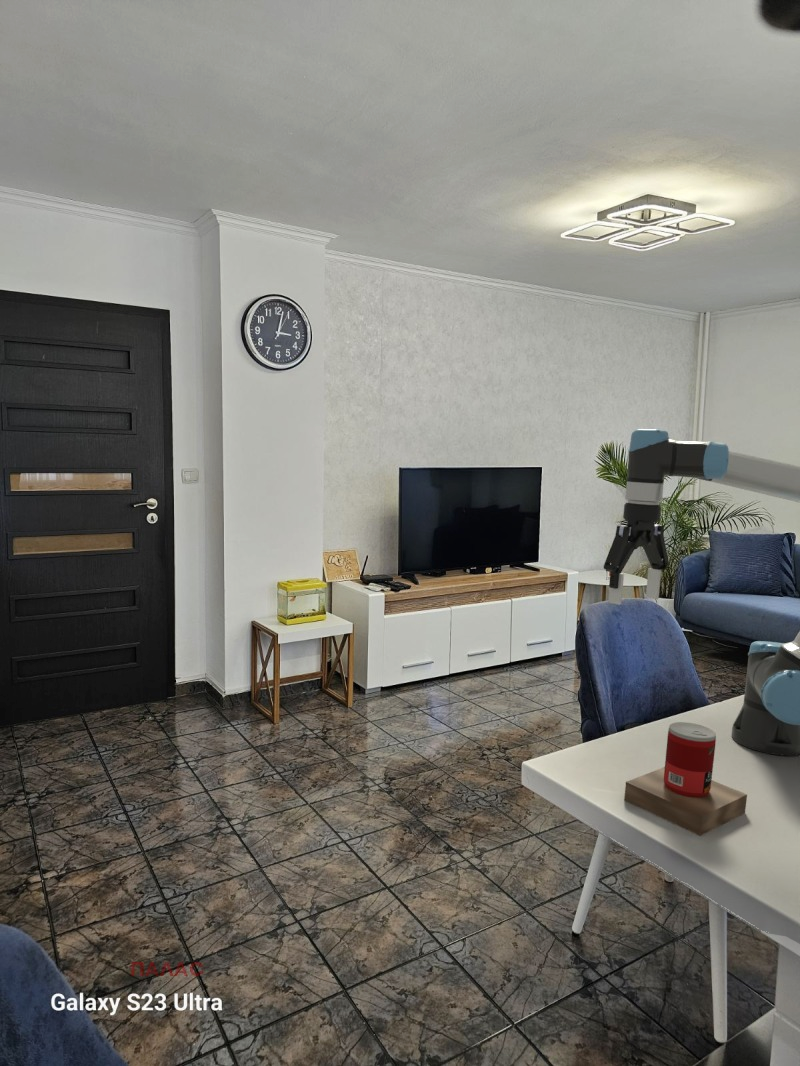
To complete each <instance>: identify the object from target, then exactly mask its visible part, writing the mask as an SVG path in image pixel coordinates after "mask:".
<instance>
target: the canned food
mask: <svg viewBox="0 0 800 1066" xmlns="http://www.w3.org/2000/svg"><path fill="white" fill-rule="evenodd" d="M716 738H717V734H716V732H715V731H714V730H713V729H711V728H709V727H707V726H704V725H701V724H697V723H693V722H686V721H683V722H682V721H681V722H679V721H678V722H677V721H676V722H672V723H671V724H669V726H668V731H667V738H666V750H665V762H664V767H665V771H664V783H665V786H666V787H667V788H668V789H669V790H671V791H673V792H675V793H677V794H680V795H683V796H688V797H704V796H706V795H708V793H709V791H710V789H711V780H712V779H713V772H714V771H713V769H714V763H715V762H714V761H715V751H716V741H717V739H716Z"/></svg>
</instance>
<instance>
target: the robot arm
mask: <svg viewBox="0 0 800 1066" xmlns="http://www.w3.org/2000/svg"><path fill="white" fill-rule="evenodd" d="M668 432H669V431H667V430H665V429H664V430H663V429H650V428H649V429H647V428H646V429H645V428H638V429H635V430H634V431H633V432H632V433H631V434H630V435H631V436H630V443H629V450H628V459H627V460H628V461H627V473H626V475H627V476H626V485H625V486H626V487H625V496H624V497H625V498H624V499H625V500H626V501H627V502H625V503H624V505H623V515H622V517H623V519H624V520H625V521H627V523H626V525H623V524H622V525H620V524H618V525H617V526H616V530H615V536H614V538H613V540H612V543H611V545H610V549H609V550H608V551H609V552H608V554H607V556H606V559H605V560H604V561H605V562H604V564H603V569H604V570H605V571H606V572H609V583H608V587H609V590H608V599H607V602H608V603H609V604H614V605H620V606H621V605H622V599H623V591H624V590H623V588H624V577H625V573H622V572H623V570H624V568H625V567H626V565H627V564H628V562H629V560H630V558H631V556H632V554H634V551H635V550H636V549H638V548H639V547H642V548H643V551H644V552H645V556H646V557H647V560H648V562H649V565H650V566H651V567H648V568H647V569H648V570H647V580H646V590H645V591H646V592H645V598H649V599H653V600H659V597H660V586H661V577H662V571H666V570H667V569H668V566H669V564H670V563H669V562H670V561H669V557H668V552H667V546H666V540H665V536H664V530H665V529H664V528H665V527H664V526H665V525H663V524H655V523H659V522H660V521H661V514H662V506H661V504H660V503H662V501H663V495H664V482H665V480H664V478H665V476H668V477H681V478H693V479H698V480H701V481H706V482H711V483H715V484H720V485H724V486H727V487H728V486H729V487H732V488H737V489H740V490H745V491H750V492H753V493H758V494H762V495H766V496H771V497H774V498H779V499H783V500H787V501H792V502H796V503H800V466H799V465H794V464H790V463H785V462H781V461H777V460H772V459H769V458H768V459H767V458H763V457H760V456H754V455H749V454H745V453H741V452H738V451H732V450H730V449H729V446H728V445H727V443H723V442H715V441H693V440H674V439H670V437H669V433H668ZM747 656H748V659H747V667H746V668H747V669H746V678H745V688H744V695H743V697H744V698H743V705H742V707H741V708H740V710H739V712H738V714H737V716H736V719H735V720H734V721H733V724H732V726H731V727H732V728H731V738H732V739H733V740H734V741H735V742H737V743H738V744H739V745H742V746H744V747H746V748H748V749H751V750H753V751H757V752H761V753H764V754H768V755H769V754H771V755H775V754H776V756H784V755H789V757H790V755H794V756H800V755H799V754H800V630H799V632H798V633H797V634H796V636H795V638H794V640H792V641H790V642H789V641H788V642H786V643H784V642H776V641H775V642H774V641H766V640H764V641H763V640H762V641H761V640H757V641H753V642H752V643H751V644H750V646H749V651H748V653H747Z"/></svg>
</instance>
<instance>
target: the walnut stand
mask: <svg viewBox="0 0 800 1066" xmlns="http://www.w3.org/2000/svg"><path fill="white" fill-rule="evenodd" d="M664 771H665V766H663V767H660V768H658V769H656V770H653V771H651V772H648V773H645V774H642V775H640V776H638V777H635V778H633V779H630V780H627V781H626V782H625V787H624V798H623V799H624V801H625V802H627V803H630V804H631V805H633V806H635V807H638V808H640V809H642V810H644V811H646V812H648V813H651V814H653V815H655V816H657V817H660V818H662V819H664V820H665V821H668V822H669V823H672V824H674V825H676V826H678V827H681V828H683V829H684V830H687V831H689V832H691V833H693V834H696V835H697V836H700V837H701V836H704V835H705V834H707V833H708V832H711V831H712V830H715V829H717V828H719V827H721V826H722V825H724V824H726V823H728V822H730V821H733V820H735V819H736V818H738V817H740V816H742V815H744V814H746V810H747V809H746V807H747V801H748V800H747V798H748V794H747V793H745V792H743V791H739V790H737V789H734V788H732V787H729V786H727V785H724V784H722V783H720V782H718V781H715V780H711V789H710V791H709V793H708V795H706V796H704V797H688V796H683V795H680V794H677V793H675V792H673V791H671V790H669V789H668V788H667V787H666V786H665V783H664Z"/></svg>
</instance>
